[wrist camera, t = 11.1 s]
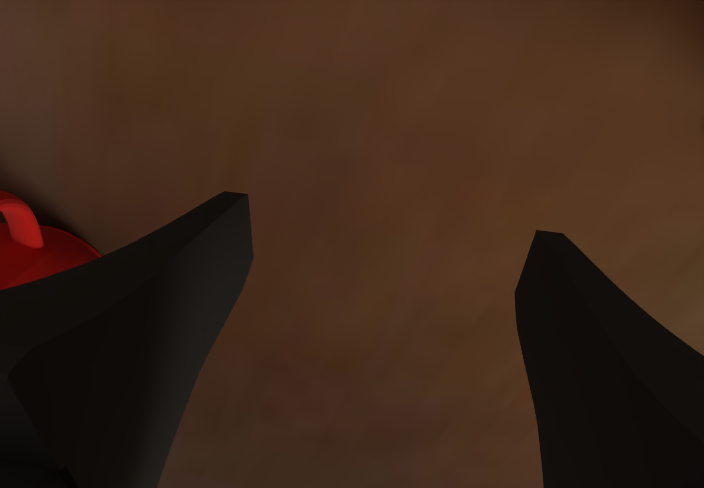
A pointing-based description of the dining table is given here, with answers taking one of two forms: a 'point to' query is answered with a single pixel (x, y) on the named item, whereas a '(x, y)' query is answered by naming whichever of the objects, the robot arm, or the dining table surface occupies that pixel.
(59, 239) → the ceramic cup
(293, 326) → the dining table surface
